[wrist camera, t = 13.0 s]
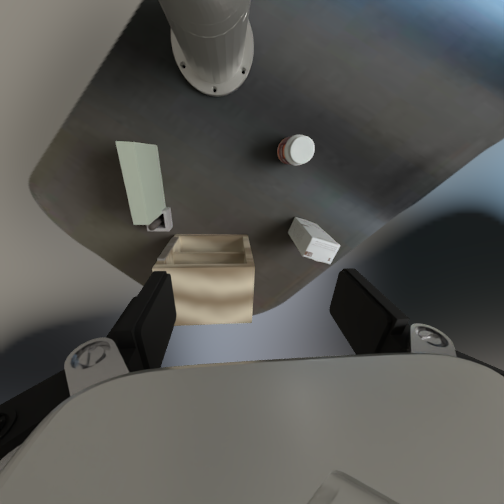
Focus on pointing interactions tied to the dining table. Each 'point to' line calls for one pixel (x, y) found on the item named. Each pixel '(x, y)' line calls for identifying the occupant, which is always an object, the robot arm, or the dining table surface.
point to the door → (144, 183)
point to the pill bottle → (295, 150)
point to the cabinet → (209, 277)
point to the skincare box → (313, 241)
